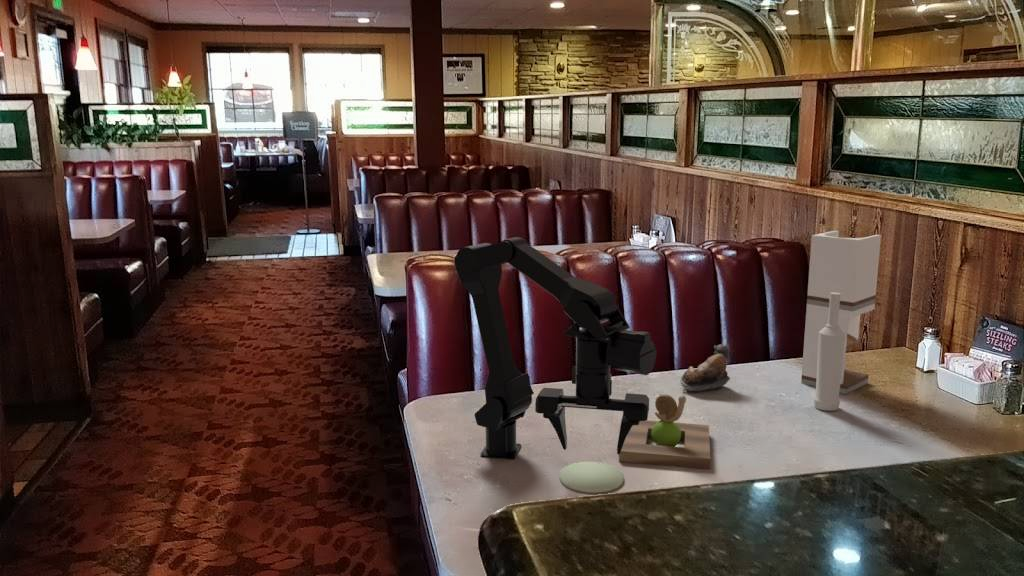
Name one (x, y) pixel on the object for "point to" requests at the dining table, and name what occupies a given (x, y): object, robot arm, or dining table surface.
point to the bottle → (830, 359)
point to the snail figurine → (668, 420)
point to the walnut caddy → (668, 447)
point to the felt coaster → (591, 477)
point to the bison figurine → (708, 372)
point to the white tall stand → (855, 278)
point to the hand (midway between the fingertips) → (591, 451)
